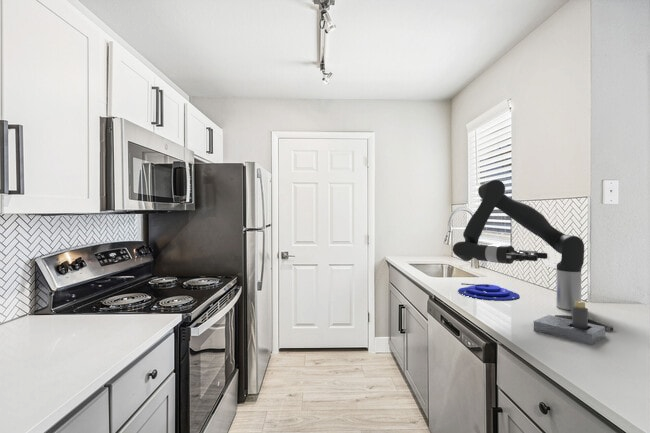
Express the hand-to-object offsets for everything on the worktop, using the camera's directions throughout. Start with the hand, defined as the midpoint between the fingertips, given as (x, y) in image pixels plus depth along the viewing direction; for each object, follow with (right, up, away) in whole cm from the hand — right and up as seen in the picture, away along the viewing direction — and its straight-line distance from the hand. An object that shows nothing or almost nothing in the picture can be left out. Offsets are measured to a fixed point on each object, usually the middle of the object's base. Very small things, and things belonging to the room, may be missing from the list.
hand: (542, 257), depth 133 cm
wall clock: (+5, -27, +55) cm, 62 cm away
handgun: (+18, -27, +3) cm, 33 cm away
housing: (+5, -27, -7) cm, 28 cm away
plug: (+7, -27, -9) cm, 29 cm away
